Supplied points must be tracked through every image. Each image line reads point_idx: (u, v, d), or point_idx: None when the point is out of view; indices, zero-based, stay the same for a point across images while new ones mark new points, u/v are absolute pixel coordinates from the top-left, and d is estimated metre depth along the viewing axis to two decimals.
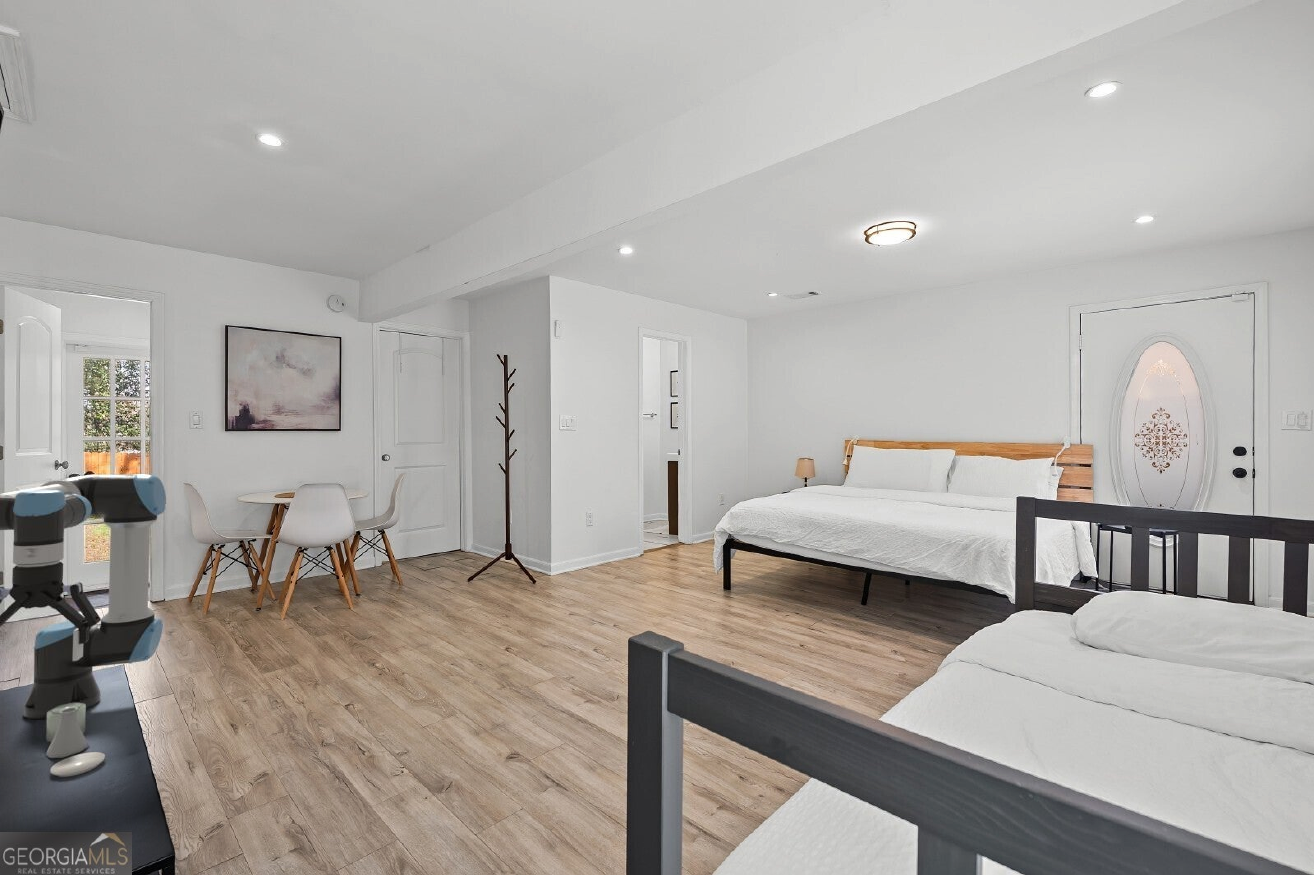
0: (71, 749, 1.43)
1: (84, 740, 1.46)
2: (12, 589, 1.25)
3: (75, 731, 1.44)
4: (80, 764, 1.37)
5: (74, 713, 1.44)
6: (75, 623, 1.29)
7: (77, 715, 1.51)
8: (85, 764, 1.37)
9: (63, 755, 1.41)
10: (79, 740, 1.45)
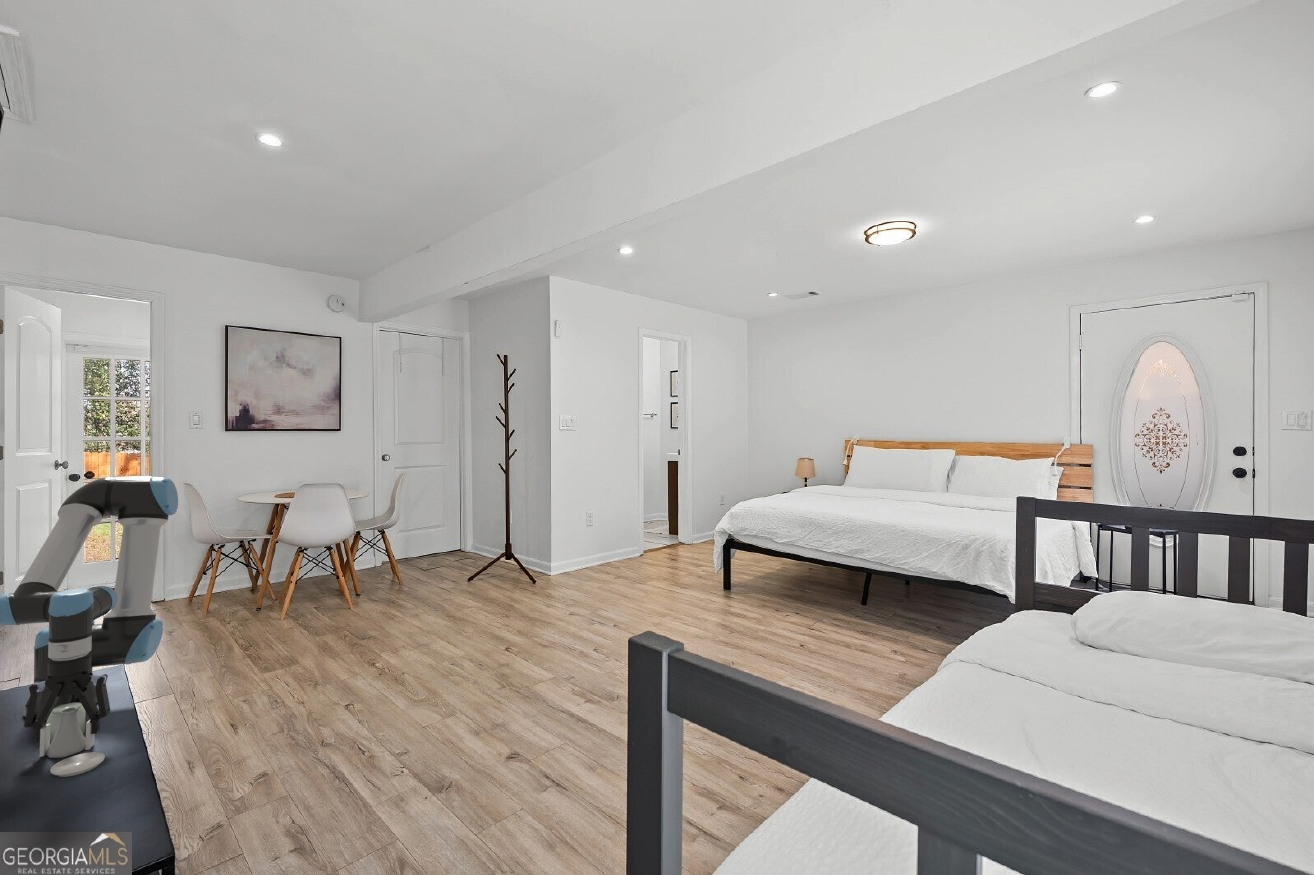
0: (72, 749, 1.43)
1: (84, 740, 1.46)
2: (46, 681, 1.42)
3: (75, 730, 1.44)
4: (80, 764, 1.37)
5: (74, 713, 1.44)
6: (89, 715, 1.45)
7: (77, 715, 1.51)
8: (85, 764, 1.37)
9: (63, 755, 1.41)
10: (79, 740, 1.45)
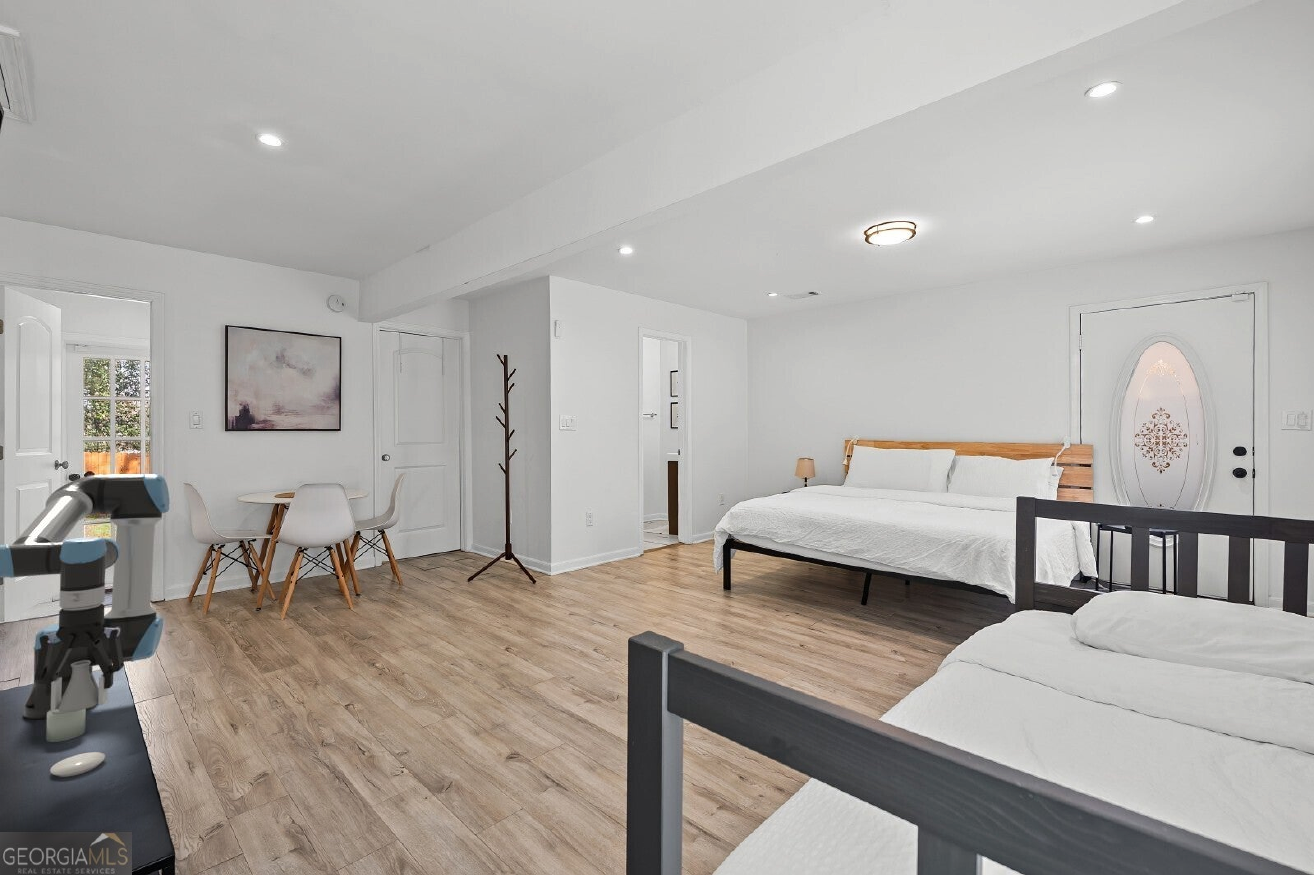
0: (84, 704, 1.36)
1: (97, 695, 1.39)
2: (57, 632, 1.35)
3: (88, 684, 1.37)
4: (80, 764, 1.37)
5: (87, 666, 1.38)
6: (102, 668, 1.38)
7: (77, 715, 1.51)
8: (85, 764, 1.37)
9: (75, 709, 1.34)
10: (92, 694, 1.38)
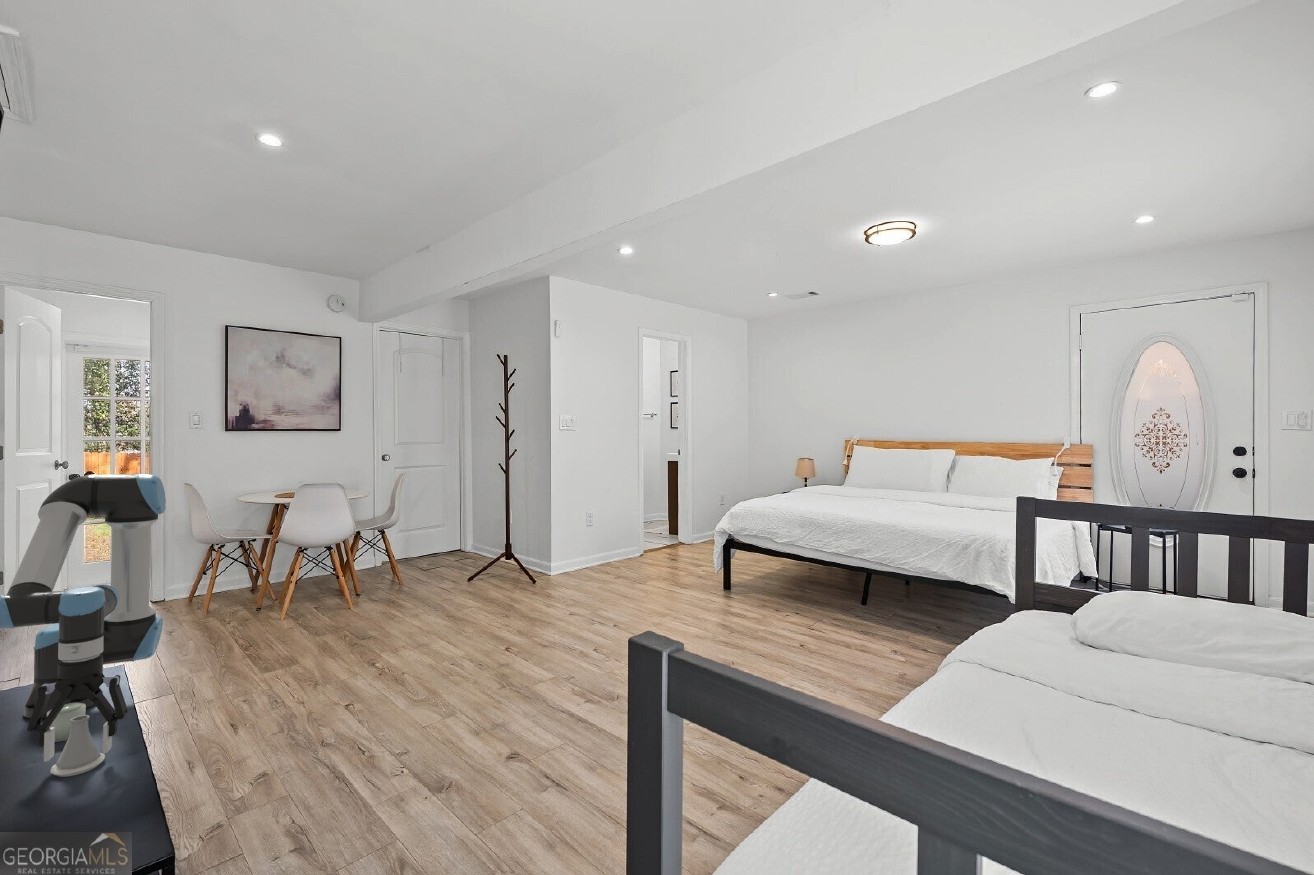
0: (83, 759, 1.36)
1: (96, 750, 1.39)
2: (56, 683, 1.35)
3: (87, 740, 1.38)
4: None
5: (86, 721, 1.38)
6: (106, 717, 1.39)
7: (77, 715, 1.51)
8: (85, 764, 1.37)
9: (74, 765, 1.35)
10: (91, 749, 1.38)
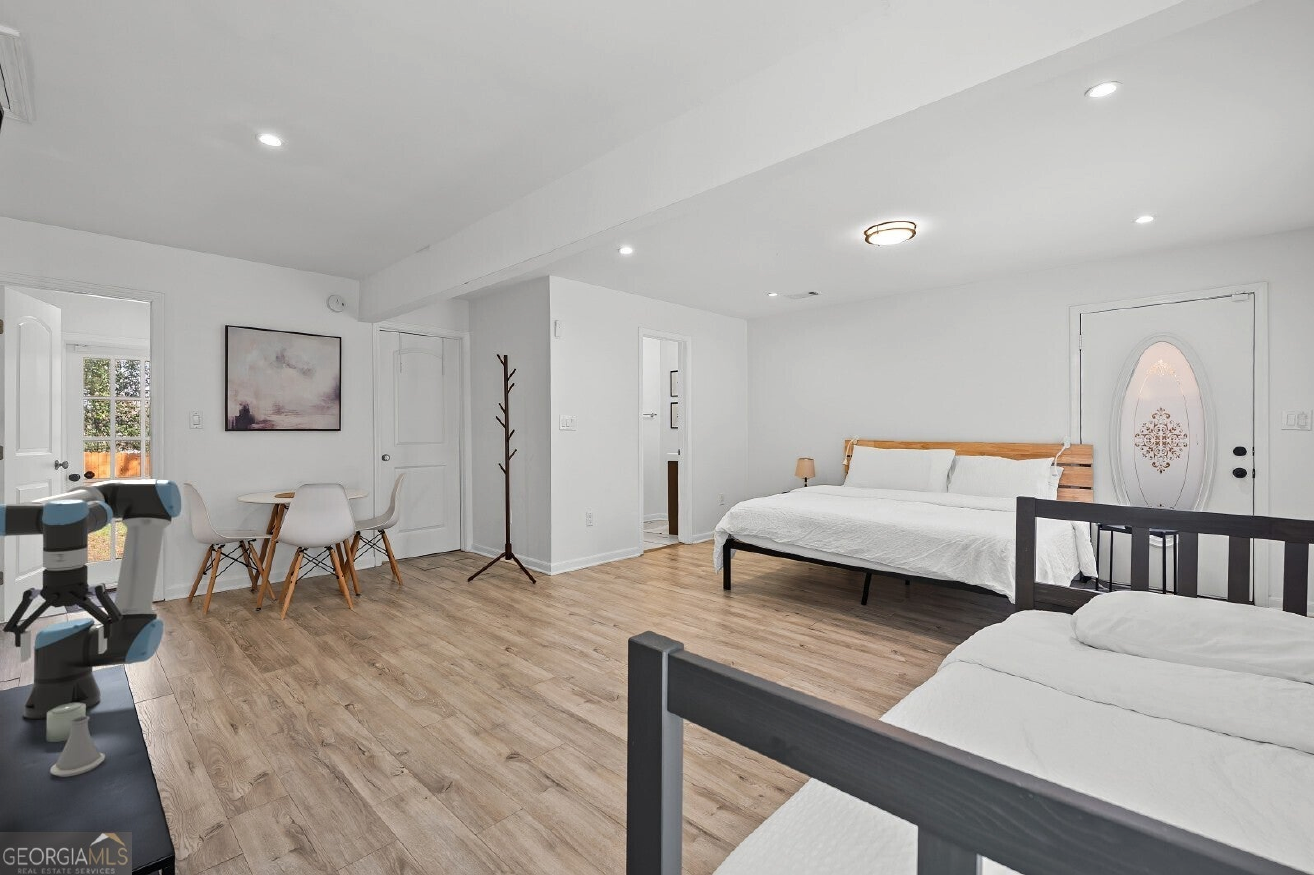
0: (83, 760, 1.36)
1: (96, 750, 1.39)
2: (42, 590, 1.38)
3: (86, 741, 1.38)
4: None
5: (85, 722, 1.38)
6: (100, 620, 1.43)
7: (77, 715, 1.51)
8: None
9: (74, 766, 1.35)
10: (91, 750, 1.38)
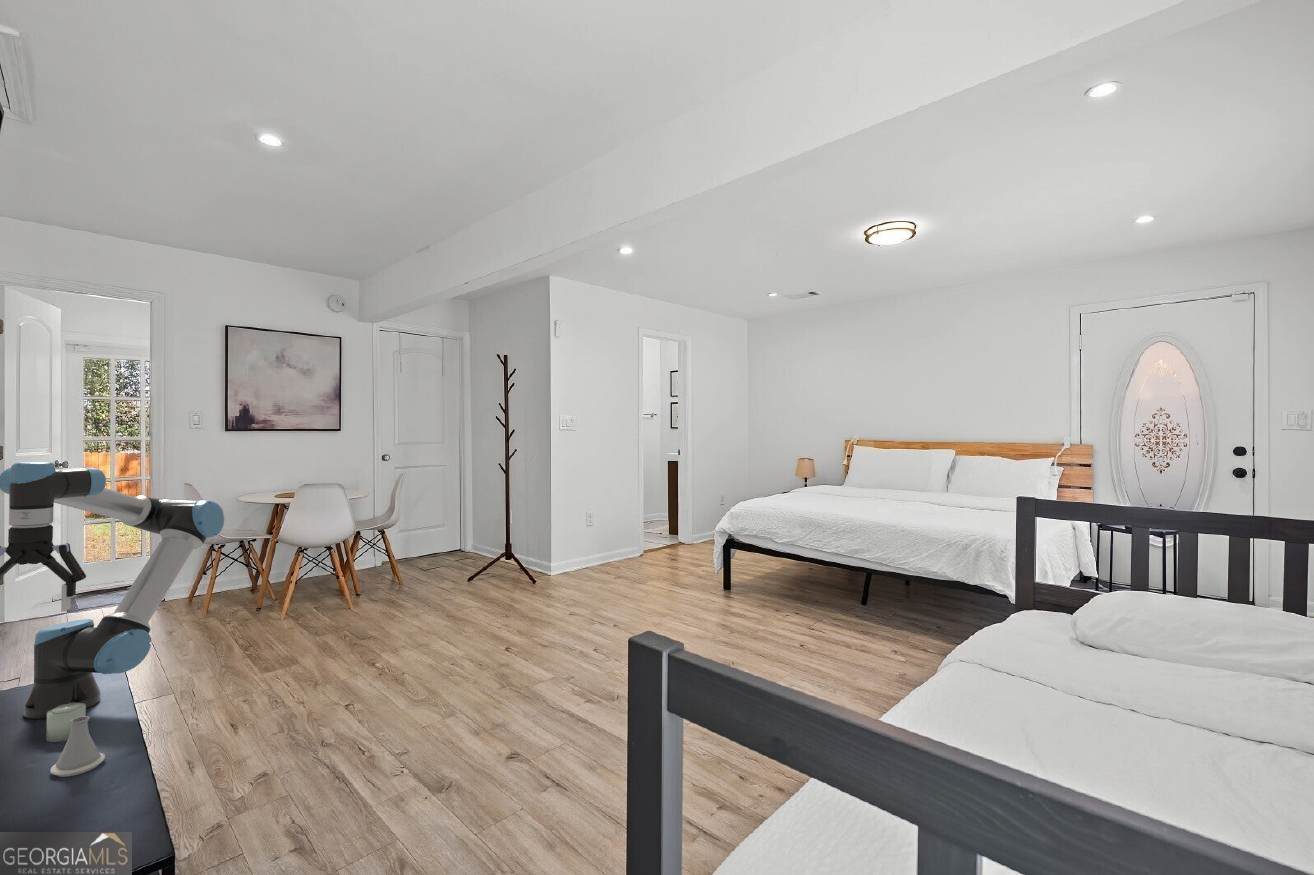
0: (83, 760, 1.36)
1: (96, 750, 1.39)
2: (8, 547, 1.43)
3: (86, 741, 1.38)
4: None
5: (85, 722, 1.38)
6: (63, 578, 1.47)
7: (77, 715, 1.51)
8: None
9: (74, 766, 1.35)
10: (91, 750, 1.38)
